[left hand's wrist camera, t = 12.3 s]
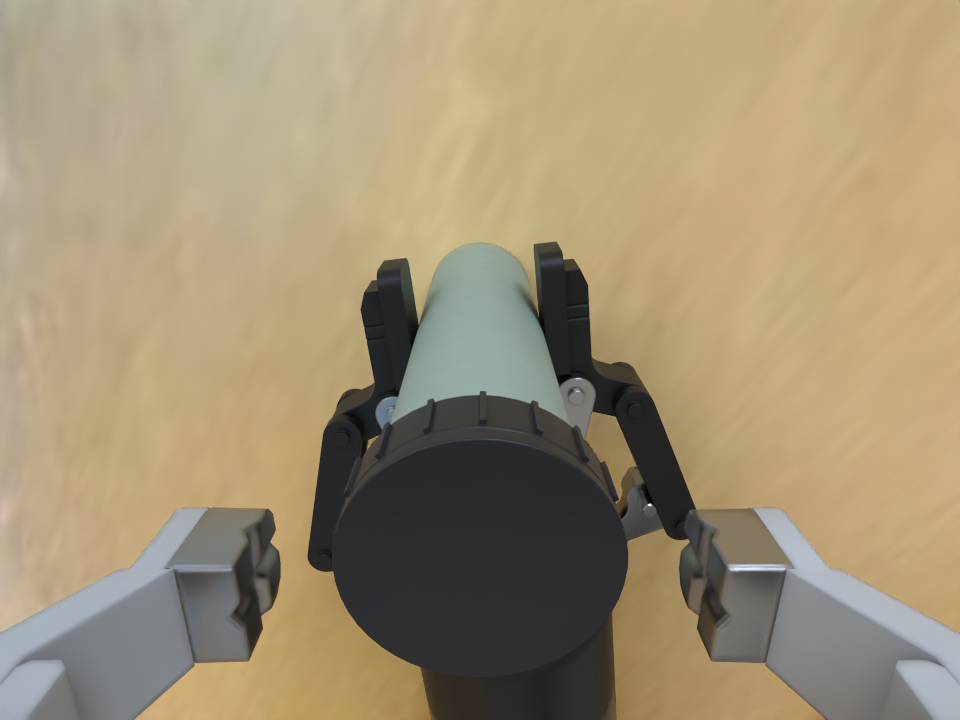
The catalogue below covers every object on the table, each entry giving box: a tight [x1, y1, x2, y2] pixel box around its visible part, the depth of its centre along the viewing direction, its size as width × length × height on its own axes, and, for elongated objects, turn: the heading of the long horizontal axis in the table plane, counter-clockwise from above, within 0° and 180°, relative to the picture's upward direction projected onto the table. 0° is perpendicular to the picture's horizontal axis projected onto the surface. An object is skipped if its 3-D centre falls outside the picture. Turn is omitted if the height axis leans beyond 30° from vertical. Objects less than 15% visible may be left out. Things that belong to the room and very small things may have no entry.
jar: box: [390, 243, 570, 425], centre depth 18 cm, size 4×4×16 cm
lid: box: [332, 391, 628, 677], centre depth 11 cm, size 5×5×2 cm
